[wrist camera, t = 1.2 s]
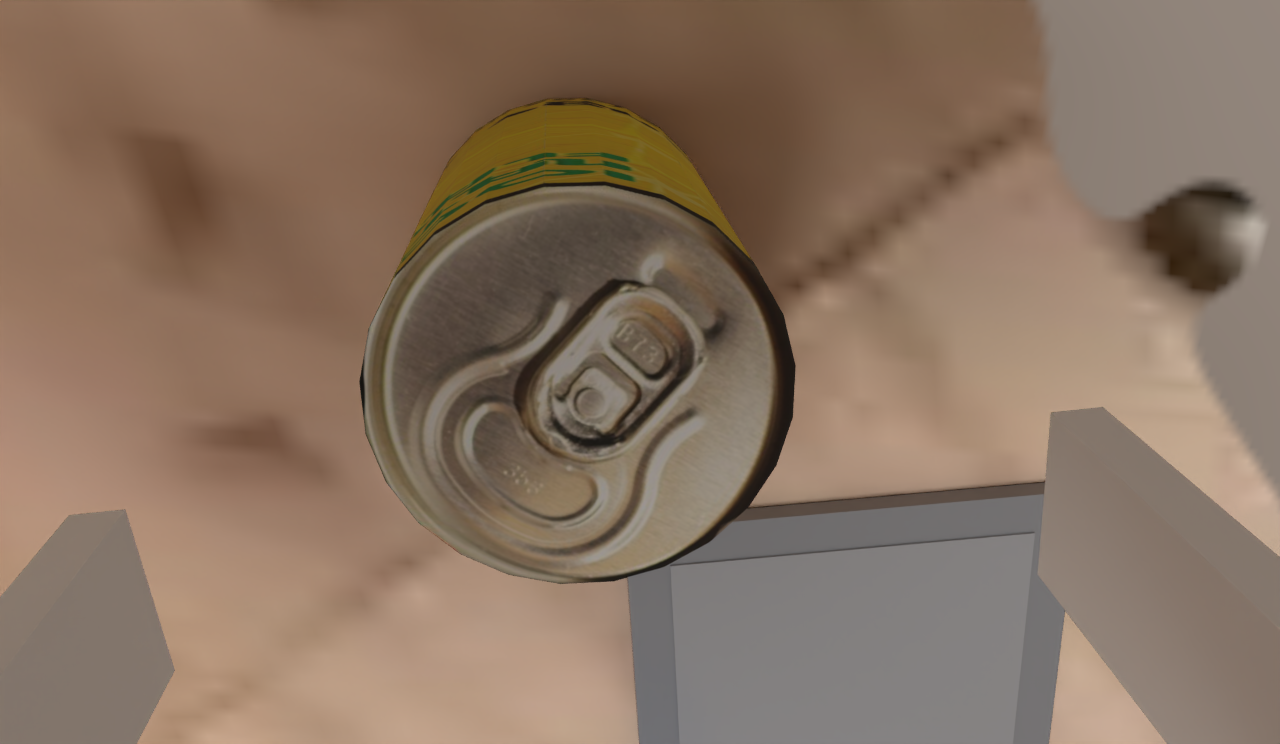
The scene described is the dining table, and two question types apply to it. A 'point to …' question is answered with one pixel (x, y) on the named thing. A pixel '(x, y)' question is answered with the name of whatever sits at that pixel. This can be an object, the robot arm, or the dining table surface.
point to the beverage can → (576, 353)
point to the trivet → (854, 626)
